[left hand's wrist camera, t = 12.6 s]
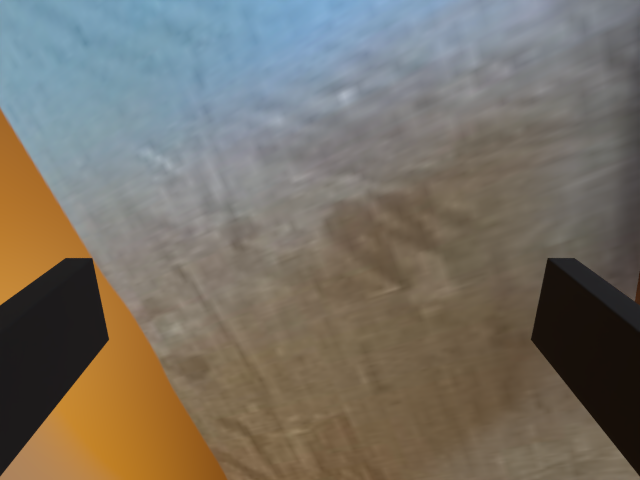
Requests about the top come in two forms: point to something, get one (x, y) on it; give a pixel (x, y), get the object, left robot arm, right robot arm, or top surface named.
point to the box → (638, 292)
